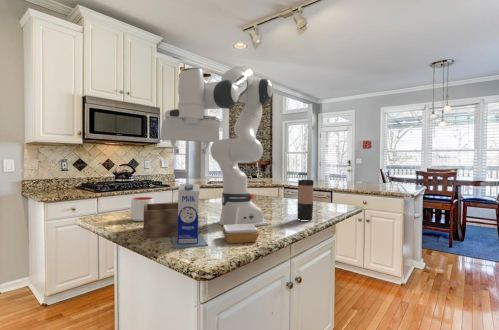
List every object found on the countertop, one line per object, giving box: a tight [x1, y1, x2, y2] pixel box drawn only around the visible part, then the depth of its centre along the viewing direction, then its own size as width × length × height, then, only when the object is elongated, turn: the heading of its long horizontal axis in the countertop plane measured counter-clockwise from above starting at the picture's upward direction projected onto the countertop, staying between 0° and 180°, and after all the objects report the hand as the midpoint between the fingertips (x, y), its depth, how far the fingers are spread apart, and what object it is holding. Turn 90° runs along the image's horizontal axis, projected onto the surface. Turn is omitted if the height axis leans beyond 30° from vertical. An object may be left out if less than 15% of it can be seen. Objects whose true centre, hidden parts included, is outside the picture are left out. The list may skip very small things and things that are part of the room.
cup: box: [130, 196, 155, 222], centre depth 134 cm, size 10×10×10 cm
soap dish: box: [221, 224, 260, 244], centre depth 104 cm, size 12×10×5 cm
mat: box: [171, 235, 209, 249], centre depth 99 cm, size 11×11×1 cm
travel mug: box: [296, 179, 314, 221], centre depth 140 cm, size 8×8×20 cm
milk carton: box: [177, 183, 200, 244], centre depth 99 cm, size 7×7×20 cm
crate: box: [142, 202, 178, 239], centre depth 113 cm, size 16×16×10 cm
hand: (190, 154), depth 99 cm, fingers open, 8 cm apart
